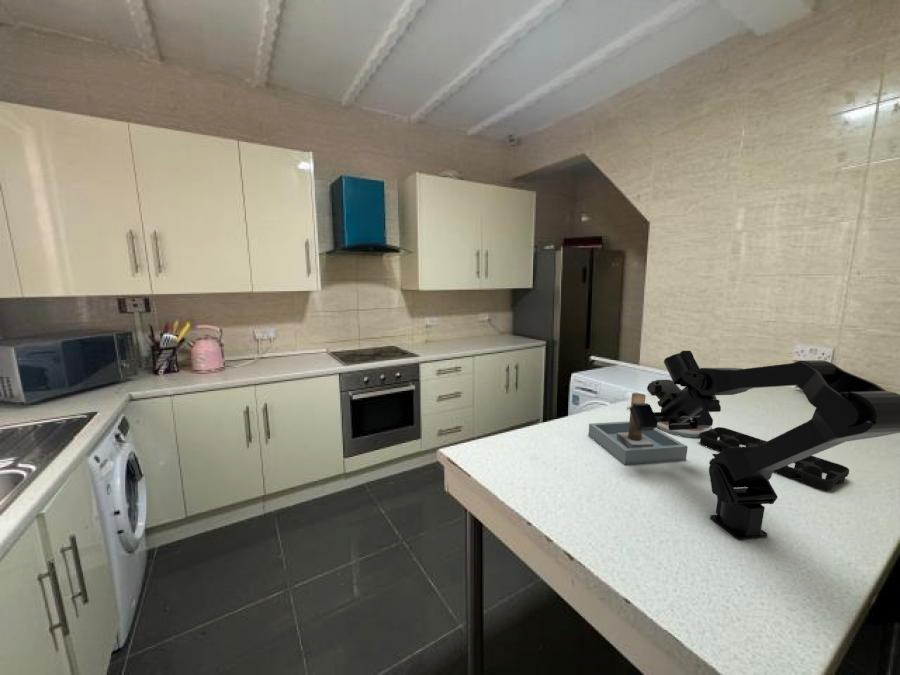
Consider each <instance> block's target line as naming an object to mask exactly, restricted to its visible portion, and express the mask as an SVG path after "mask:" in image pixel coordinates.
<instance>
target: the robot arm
mask: <svg viewBox="0 0 900 675" xmlns="http://www.w3.org/2000/svg"><path fill="white" fill-rule="evenodd" d="M663 364H664V366H665V368H666V371H667V372H668V374H669V376H670V378H671V379H656V380H652V381H651V382H649V383H648V385H647V387H646V390H647V391H648V393H649V395H651V396H653V397H654V396H655V397H657V399H658V401H657V405H658V407H660V411H659V412H658V411H657V412H656V411H655V412H654V410H653V408H652V407H651V404H649V403H647V402H645V403H639V404H633V405H632V406H631V405H630V406H631V407H630V410H629V413H630V412H631V414H632V417H633V419H634V422H635V425H636V430H637V431H651V430H653V429H655V428H656V429H657V423H661V422H668V423H669V426H668V428H669V430H686V429H702V428H708V427H710V426H712V427H713V423H714V419H713V417H712V416H711V413H720V412H721V411H722V407H721V404H720V403H721V402H720V400H719V399H717V396H734V395H737V394H741V393H746V392H747V391H749V390H753V389H759V388H760V389H761V388H776V387H777V388H778V387H795V386H796V387H799V388H800V389H801V390H802V391H803V393H804V395H805V397H806V398H807V400H808V403H809V404H811V406H813V407H814V408H815V410H814V412H813V415H812V418H811V419H809V420H808V421H805V422H803V423H802V424H800V425H798V426H795V427H793V428H791V429H789V430H788V431H786V432H784V433H782V434H779V435H777V436H776V437H773V438H771V439H770V440H766V441H767V442H765V443H763V444H761V445H759V446H757V447H754V446H749V447H745V446H740V447H727V448H725V449H723V450H722V449H721V451H720V452H718V453H712V456H713V457H712V458H711V459H710V460H709V462H708V464H709V467H708V473H709V481H710V487H711V491H712V492H711V493H713V494H714V495H715V496H716V497H717V499H716V500H717V502H716V509H715V513H716V514H710V516H709V519H711V520H712V522H715V523H716V525H718V526H719V527H721V528H722V529H724V530H725V531H726V532H727V533H729V534H730V535H732V536H733V537H734V538H736V539H737V540H740V541H741V540H749V539H757V538H766V537H768V532H766V531H765V530H763V529H762V526H763V521H764V514H765V506H764V505H767V504H768V505H774V504H775V502H776V501H777V499H778V495H777V493H776V491H775V489H774V488H773V486H772V484H771V482H770V480H771V478H772V476H773V473H774V472H773V471H775V470H777V469H779V468H782V467H784V466H787V465H788V466H789V465H791V464H795V463H794V462H797V461H799V460H802V459H804V458H807V457H809V456H815V455H816V454H818V453H821V452H823V451H826V450H829V449H831V448H834V447H836V446H838V445H842V444H844V443H847V442H852V441H858V440H866V439H872V438H873V439H875V438H878V437H884V436H891V435H895V434H900V394H899V393H896V392H894V391H893V392H892V391H887V390H886V389H885V388H883V387H882V386H879V385H878V384H876V383H874V382H872V381H870V380H868V379H865V378H862V377H861V376H858V375H855V374H853V373H851V372H847V371H845V370H844V369H842V368H841V367H839V366H838V365H836V364H835V363H832V362H830V361H827V360H824V359H821V360H817V359H815V360H814V359H813V360H812V359H811V360H796V361H795V362H790V363H781V364H774V365H766V366H764V365H763V366H757V367H756V366H755V367H748V368H747V367H746V368H740V367H739V368H738V367H700V366H699V365H698V363H697V361H696V359H695V357H694V354H693V352H692V351H691V350H682V351H680V352H679V353H675V354H672V355H670V356H668V357H665V359H664V360H663ZM678 385H680V387H684V388H682V389H681V388H680V387H679V386H678Z"/></svg>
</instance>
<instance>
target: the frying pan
mask: <svg viewBox="0 0 900 675" xmlns="http://www.w3.org/2000/svg"><path fill="white" fill-rule="evenodd" d="M630 407H631V405H628V406H627V410H628V409H630ZM668 426H669V423H668V422H661V423H657V427H658V428H657V427H656V428H657V429H659V428H660V429H661V430H660V429H659V430H660V431H663V430H664V431H663V432H665V431H666V432H665V433H667V432H669V433H668V434H672V435H674V434H676V435H675V436H678V435H680V436H679V437H683V436H686V437H685V438H690V437H695V439H696V437H698V436H699V434H700V433H702V432H705V431H708V430H711V429H713V425H712V426H710V427H708V428H702V429H686V430H669V428H668Z"/></svg>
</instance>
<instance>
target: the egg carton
mask: <svg viewBox="0 0 900 675" xmlns="http://www.w3.org/2000/svg"><path fill="white" fill-rule="evenodd" d="M698 437H699V438H698V439H700V441H699V442H700V445H701V446H703V445H704V446H703V447H705V446H707V447H706V448H708V447H709V448H708V449H711V448H712V449H711V450H715V449H719V450H721V451H722V450H723V449H725V448H727V447H741V446H744V447H749V446H754V447H757V446H759V445H761V444H763V443H765V442H767V441H768V440H764V439H761V438H758V437H754V436H753V435H752V436H751V435H749V434H746V433H742V432H739V431H736V430H734V429H730V428H726V427H721V426H720V427H718V426H717V427H714V428H712V429H711V430H708V431H705V432H702V433H700V434H699V436H698ZM740 445H741V446H740ZM721 448H722V449H721ZM793 464H794V466H793V467H791V466H789V465H787V466H784V467H782V468H779V469H777V470H775V471H773V473H774V474H776V475H779V476H782V477H784V478H787V479H791V480H798V479H799V480H800V482H801V483H802V484H803V485H805V486H807V487H811V488H813V489H815V490H819V491H823V492H830V491H831V490H832V489H833V488H834V486H835V485H837V486H838V485H842V484H844V483H845V481H846V478H847V477H848V476H849V475H850V469H849V468H848V467H847V466H845V465H843V464H840V463H836V462H834V461H830V460H827V459H824V458H821V457H816V456H815V455H812V456H809V457H807V458H804V459H802V460H799V461H797V462H794V463H793ZM823 474H826V475H825V478H823Z"/></svg>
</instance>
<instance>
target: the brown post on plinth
mask: <svg viewBox="0 0 900 675" xmlns="http://www.w3.org/2000/svg"><path fill="white" fill-rule="evenodd" d="M646 398H647V396H646V395H645V394H644V393H638V392H632V393H631V400H630V401H631V402H630V406H632V405H633V404H639V403H646ZM629 421H630V422H629V432H626V433H617V440H618V441H620V442H621V443H622V444H623V445H625V446H626V447H627V448H640V447H653V443H651V442H650V441H648V440H647V439H645V438H644V437H642V431H637V430H636V425H635V422H634V419H633V417H632V414H631V412H630V411H629Z"/></svg>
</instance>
